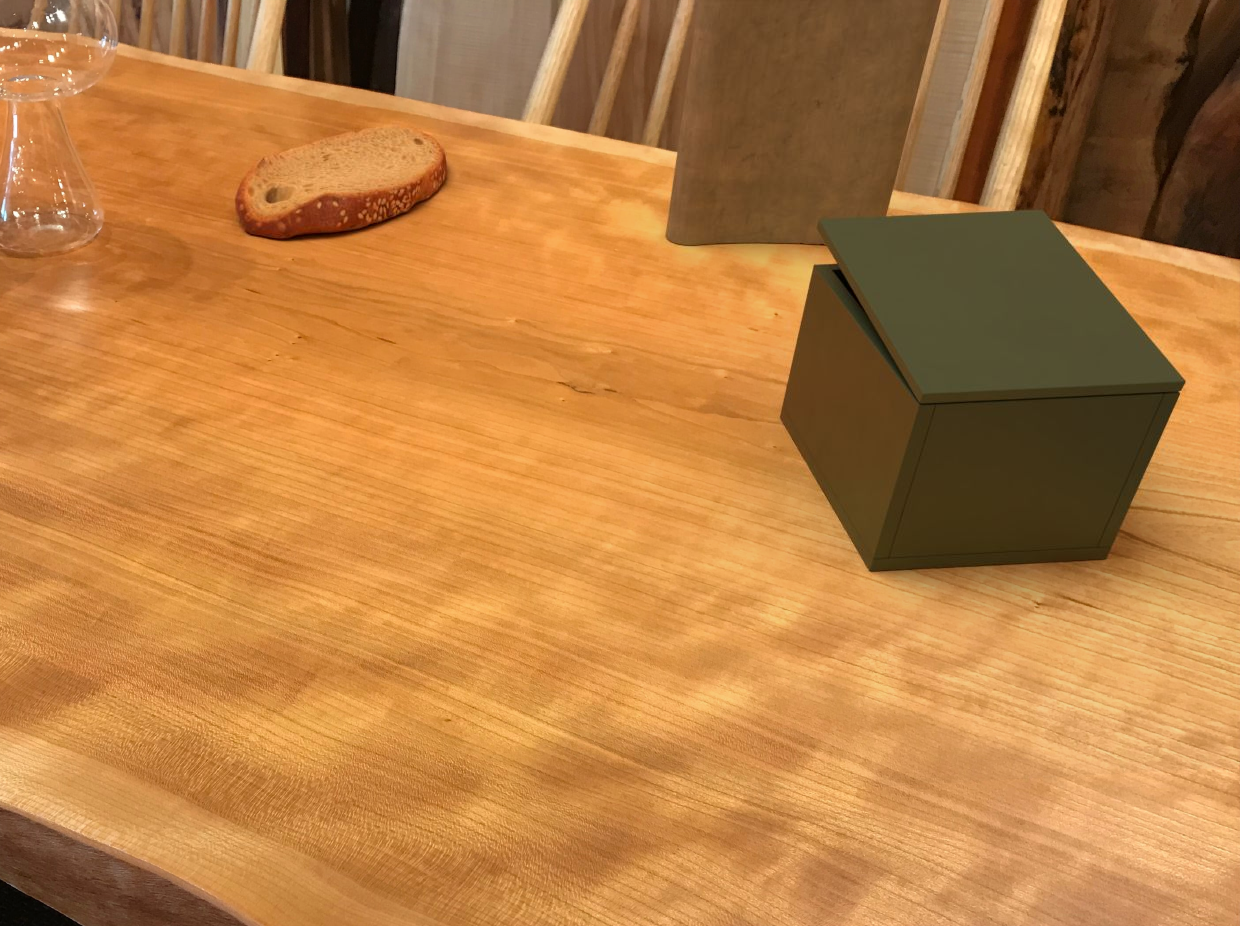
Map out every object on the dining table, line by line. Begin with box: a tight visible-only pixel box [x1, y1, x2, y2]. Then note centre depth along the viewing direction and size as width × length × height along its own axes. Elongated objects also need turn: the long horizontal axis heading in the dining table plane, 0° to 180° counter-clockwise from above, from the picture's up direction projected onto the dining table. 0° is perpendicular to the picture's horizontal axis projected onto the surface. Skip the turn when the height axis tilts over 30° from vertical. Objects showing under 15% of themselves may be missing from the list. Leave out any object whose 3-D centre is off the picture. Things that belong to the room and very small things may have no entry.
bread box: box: [779, 263, 1181, 572], centre depth 71 cm, size 16×13×10 cm
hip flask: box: [665, 0, 942, 246], centre depth 93 cm, size 16×4×20 cm, turn 85°
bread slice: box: [234, 123, 448, 239], centre depth 106 cm, size 18×18×4 cm
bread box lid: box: [817, 209, 1187, 404], centre depth 67 cm, size 16×13×1 cm
